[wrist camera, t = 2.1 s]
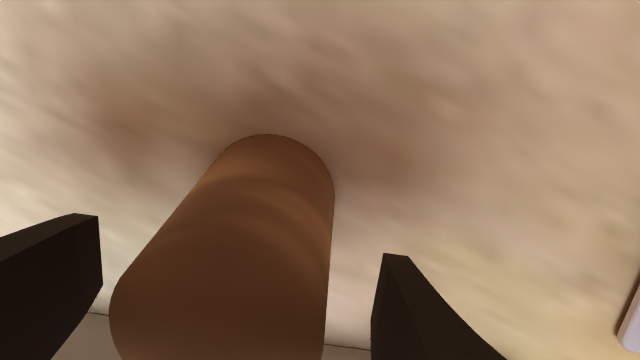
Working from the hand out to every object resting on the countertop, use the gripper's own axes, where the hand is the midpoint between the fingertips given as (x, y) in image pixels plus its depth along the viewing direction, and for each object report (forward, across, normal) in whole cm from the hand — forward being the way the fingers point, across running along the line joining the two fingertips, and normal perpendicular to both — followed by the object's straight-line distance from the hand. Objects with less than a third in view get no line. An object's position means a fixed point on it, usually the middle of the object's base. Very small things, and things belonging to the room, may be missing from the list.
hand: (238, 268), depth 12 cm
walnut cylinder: (+5, 0, 0) cm, 5 cm away
